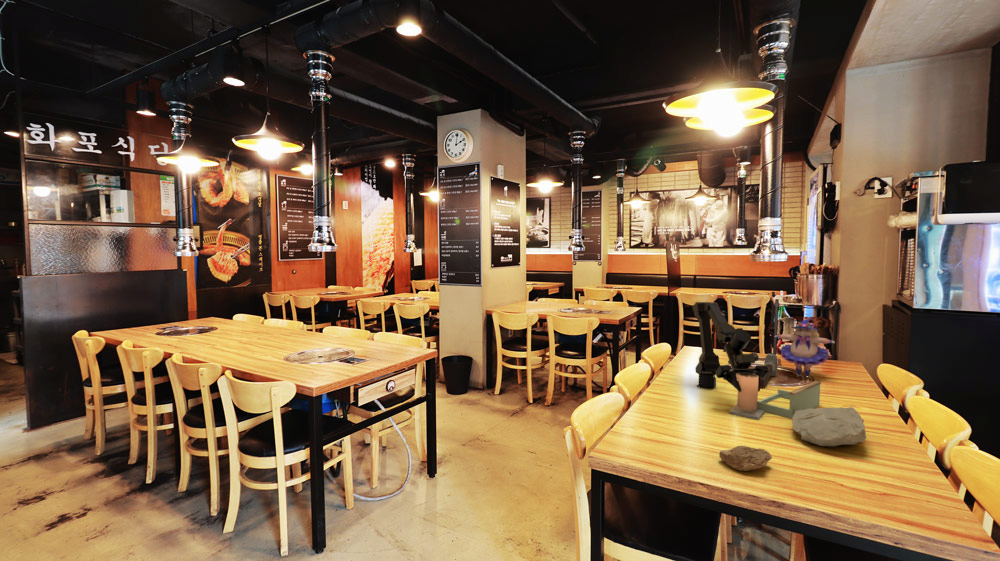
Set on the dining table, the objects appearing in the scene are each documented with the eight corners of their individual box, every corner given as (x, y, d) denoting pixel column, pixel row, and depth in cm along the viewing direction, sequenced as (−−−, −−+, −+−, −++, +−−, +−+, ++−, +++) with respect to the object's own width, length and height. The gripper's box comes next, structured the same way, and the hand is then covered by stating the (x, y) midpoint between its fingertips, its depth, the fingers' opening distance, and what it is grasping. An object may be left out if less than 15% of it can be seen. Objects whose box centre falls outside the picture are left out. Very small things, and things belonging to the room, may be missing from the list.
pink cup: (733, 404, 179) (734, 373, 178) (748, 403, 180) (749, 372, 180) (746, 410, 172) (747, 378, 171) (761, 409, 174) (762, 377, 173)
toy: (769, 376, 228) (772, 316, 226) (777, 368, 244) (779, 312, 242) (831, 386, 212) (834, 321, 210) (836, 376, 228) (838, 316, 226)
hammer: (766, 397, 208) (777, 374, 231) (766, 373, 206) (777, 353, 229) (754, 394, 211) (766, 373, 234) (754, 371, 209) (766, 351, 232)
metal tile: (729, 413, 176) (729, 411, 176) (736, 407, 184) (736, 404, 183) (758, 420, 169) (758, 417, 169) (764, 412, 177) (764, 410, 177)
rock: (715, 468, 132) (716, 451, 132) (722, 454, 141) (722, 438, 141) (768, 481, 125) (769, 463, 124) (772, 466, 133) (772, 449, 133)
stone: (793, 449, 146) (873, 455, 135) (790, 419, 146) (869, 423, 136) (794, 424, 174) (860, 428, 163) (791, 399, 174) (856, 401, 164)
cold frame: (750, 407, 183) (751, 383, 182) (778, 396, 198) (779, 373, 197) (793, 419, 170) (794, 393, 170) (819, 405, 185) (820, 381, 184)
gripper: (719, 344, 179) (733, 380, 168) (767, 344, 179) (784, 380, 169) (710, 359, 187) (722, 395, 177) (755, 359, 187) (770, 394, 177)
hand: (749, 391), depth 175 cm, fingers closed on pink cup, 7 cm apart
